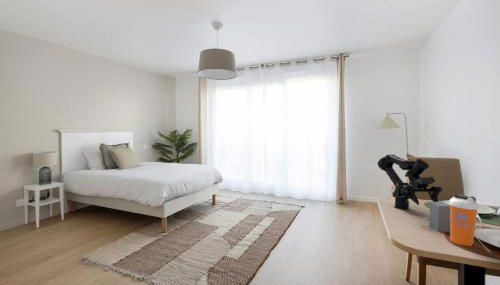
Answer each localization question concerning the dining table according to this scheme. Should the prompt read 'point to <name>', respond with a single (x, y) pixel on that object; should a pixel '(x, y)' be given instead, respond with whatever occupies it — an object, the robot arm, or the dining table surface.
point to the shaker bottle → (462, 219)
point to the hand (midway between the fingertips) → (428, 204)
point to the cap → (439, 216)
